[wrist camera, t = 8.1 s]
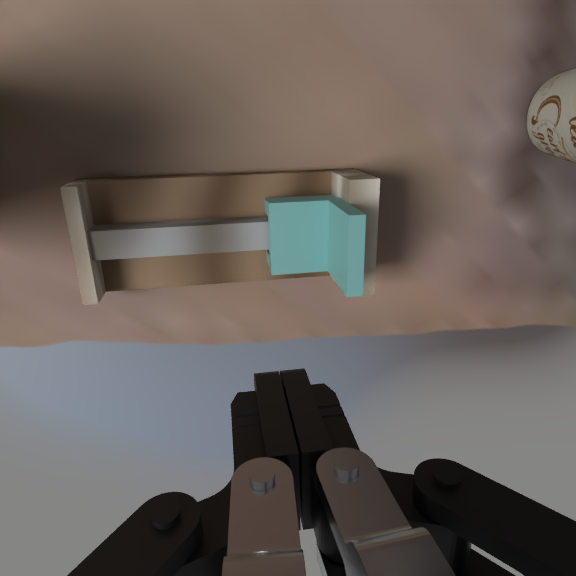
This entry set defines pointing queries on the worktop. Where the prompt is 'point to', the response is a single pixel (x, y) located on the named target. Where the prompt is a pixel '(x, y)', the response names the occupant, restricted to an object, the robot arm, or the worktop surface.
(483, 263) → the worktop surface
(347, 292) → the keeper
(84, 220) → the track
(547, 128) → the mug
